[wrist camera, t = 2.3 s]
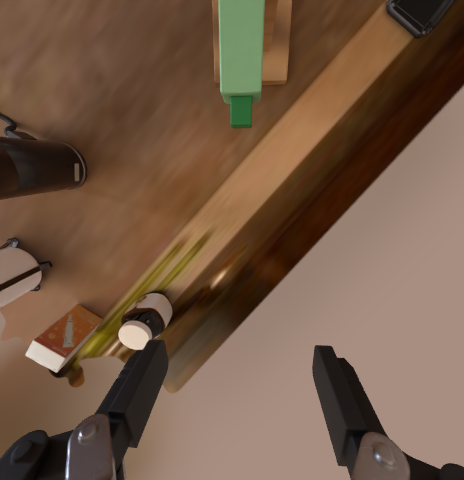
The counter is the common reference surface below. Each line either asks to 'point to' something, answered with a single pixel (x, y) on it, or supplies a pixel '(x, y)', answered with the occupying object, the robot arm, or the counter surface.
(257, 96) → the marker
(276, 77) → the wooden pedestal stand
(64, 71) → the counter surface
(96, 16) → the counter surface
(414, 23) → the phone
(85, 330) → the small box
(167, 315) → the spread jar
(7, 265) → the coffee press
